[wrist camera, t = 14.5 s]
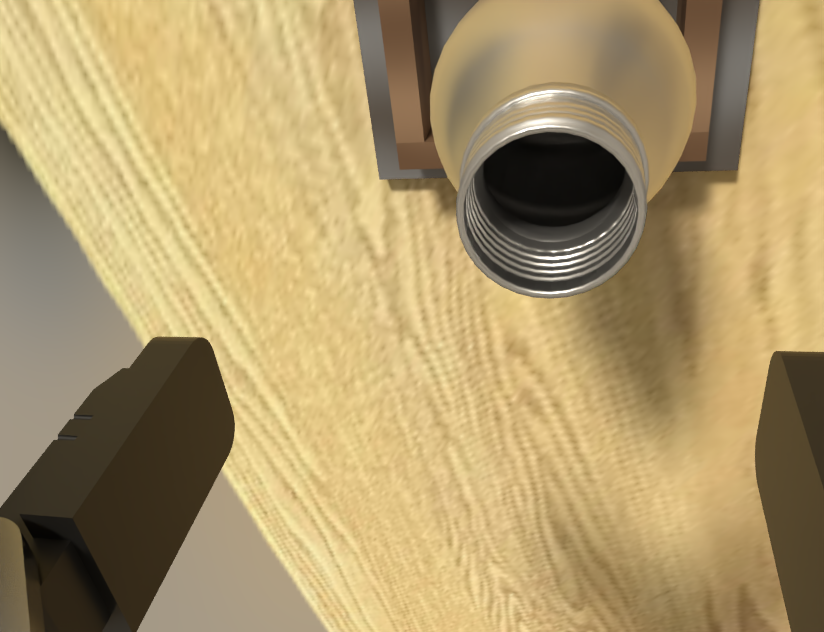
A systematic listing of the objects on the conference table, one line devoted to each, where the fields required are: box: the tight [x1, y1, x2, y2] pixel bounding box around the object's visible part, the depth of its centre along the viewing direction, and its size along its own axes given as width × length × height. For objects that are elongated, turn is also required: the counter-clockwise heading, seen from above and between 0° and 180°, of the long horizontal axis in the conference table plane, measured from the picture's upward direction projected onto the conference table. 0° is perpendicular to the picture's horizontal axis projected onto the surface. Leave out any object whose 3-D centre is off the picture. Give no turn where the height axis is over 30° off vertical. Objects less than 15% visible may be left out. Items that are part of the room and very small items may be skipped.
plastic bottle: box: [430, 0, 696, 298], centre depth 23 cm, size 6×7×20 cm
